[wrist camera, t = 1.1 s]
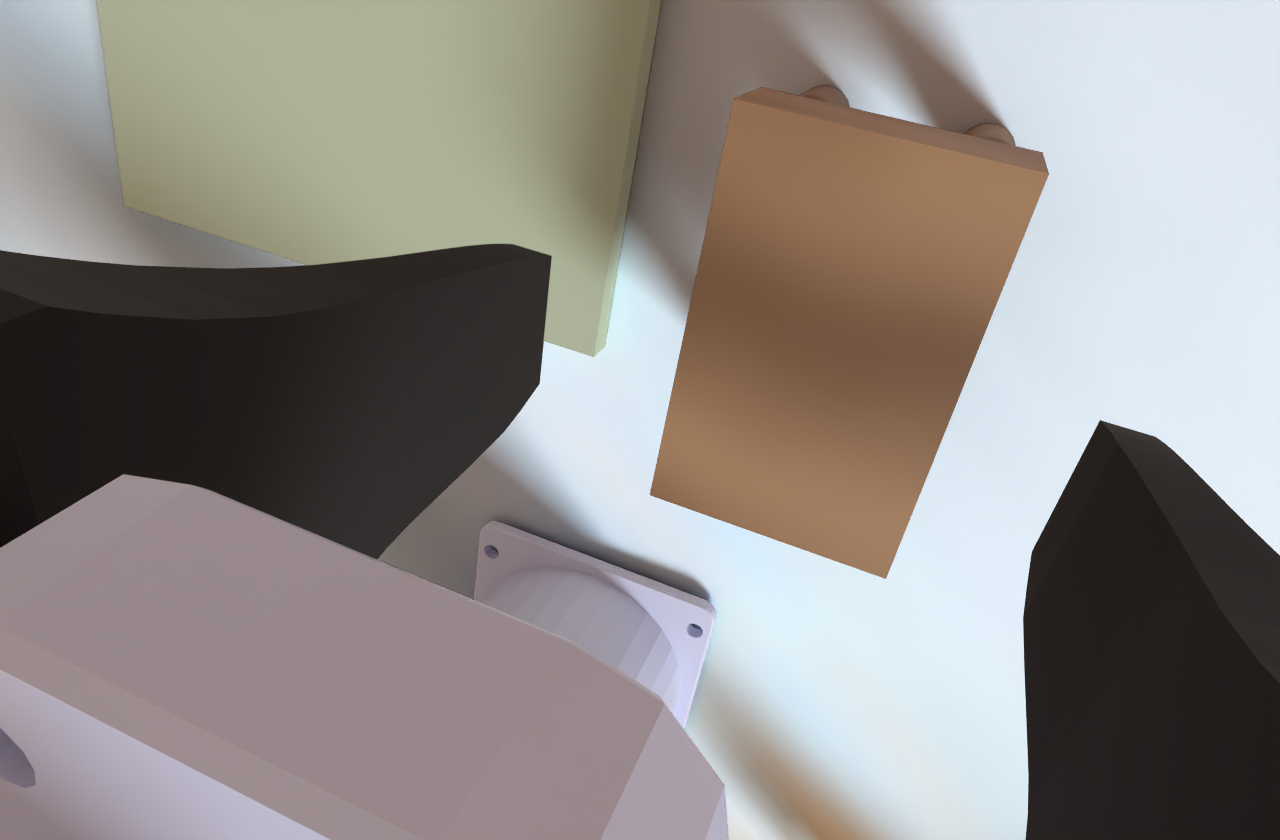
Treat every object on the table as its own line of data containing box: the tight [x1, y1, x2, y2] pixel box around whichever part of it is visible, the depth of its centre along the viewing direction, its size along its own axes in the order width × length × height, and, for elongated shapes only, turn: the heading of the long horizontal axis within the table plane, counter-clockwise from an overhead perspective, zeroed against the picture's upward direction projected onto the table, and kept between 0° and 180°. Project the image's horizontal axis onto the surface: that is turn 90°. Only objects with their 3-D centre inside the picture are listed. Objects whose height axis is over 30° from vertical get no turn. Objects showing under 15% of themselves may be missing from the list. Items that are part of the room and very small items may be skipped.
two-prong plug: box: [650, 85, 1049, 579], centre depth 18 cm, size 8×5×6 cm, turn 172°
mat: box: [96, 0, 661, 357], centre depth 22 cm, size 14×16×1 cm
